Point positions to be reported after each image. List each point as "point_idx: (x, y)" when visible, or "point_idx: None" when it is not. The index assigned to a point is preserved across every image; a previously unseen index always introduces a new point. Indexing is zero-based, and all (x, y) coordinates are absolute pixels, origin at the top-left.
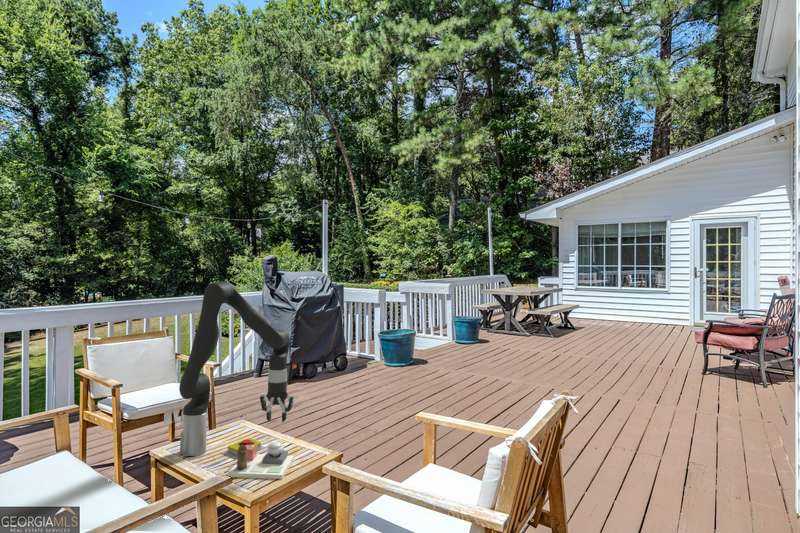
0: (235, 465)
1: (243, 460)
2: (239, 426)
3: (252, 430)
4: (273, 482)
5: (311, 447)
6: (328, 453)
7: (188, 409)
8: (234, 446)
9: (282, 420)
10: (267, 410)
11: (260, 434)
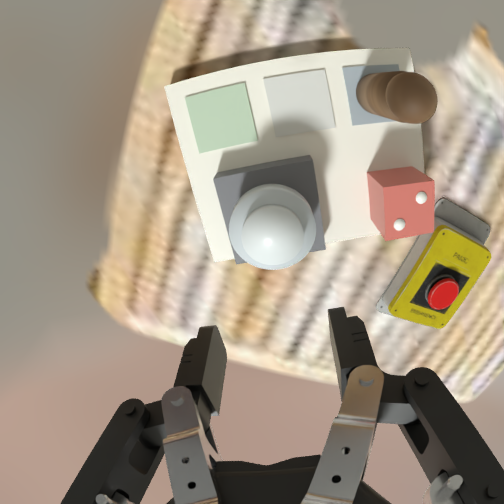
0: None
1: (375, 77)
2: (473, 385)
3: None
4: (188, 49)
5: None
6: (130, 318)
7: None
8: (472, 257)
9: (206, 332)
10: (370, 381)
11: None
